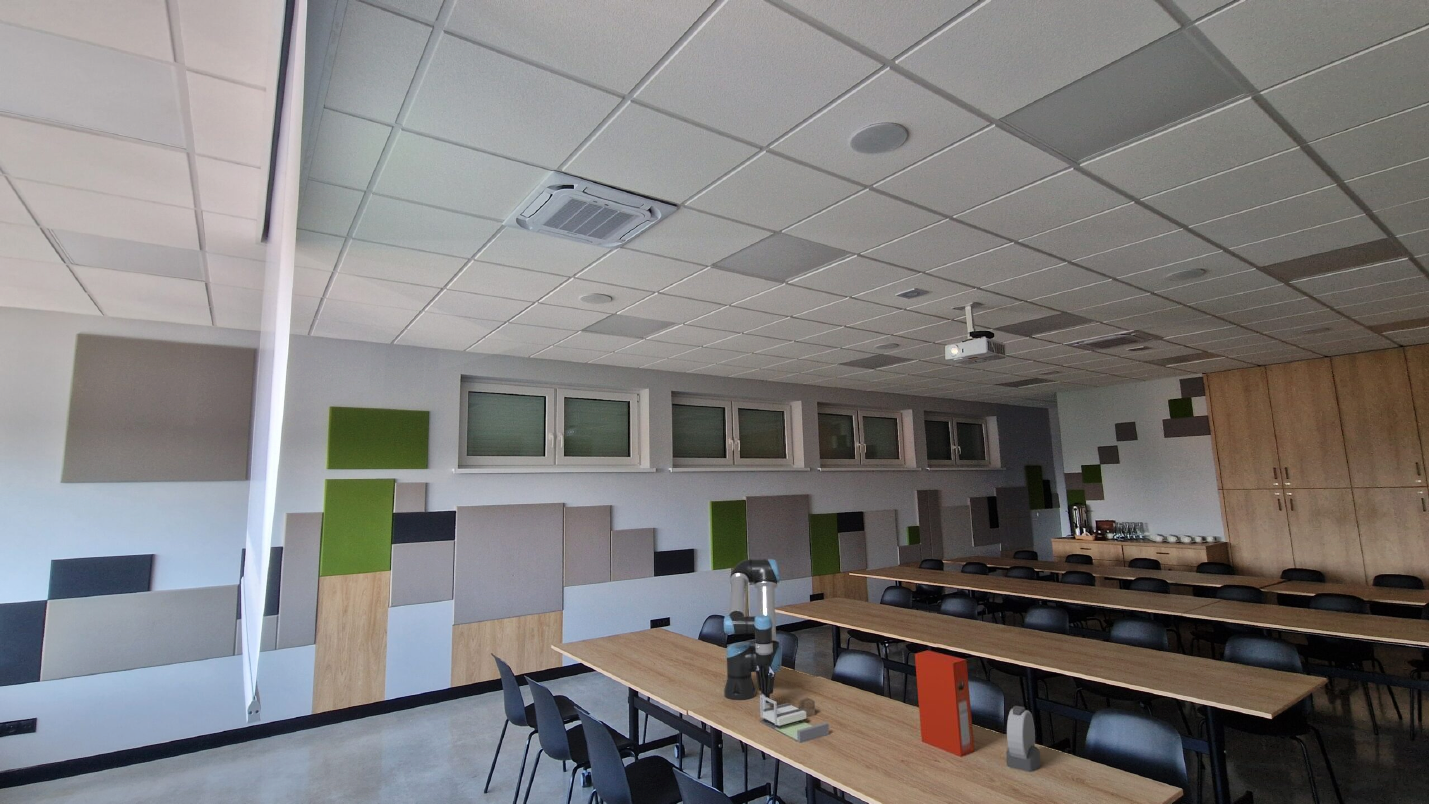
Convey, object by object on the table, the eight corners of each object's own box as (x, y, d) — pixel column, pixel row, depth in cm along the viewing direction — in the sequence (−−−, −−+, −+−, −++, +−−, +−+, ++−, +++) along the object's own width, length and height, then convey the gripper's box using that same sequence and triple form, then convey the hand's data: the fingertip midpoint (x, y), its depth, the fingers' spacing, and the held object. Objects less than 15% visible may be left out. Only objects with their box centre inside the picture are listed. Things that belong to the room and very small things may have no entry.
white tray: (759, 720, 261) (758, 694, 263) (787, 713, 269) (786, 687, 270) (777, 730, 250) (776, 702, 252) (806, 722, 258) (805, 695, 259)
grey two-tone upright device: (1014, 751, 226) (1009, 698, 228) (1045, 758, 219) (1040, 703, 222) (1001, 767, 213) (996, 710, 216) (1034, 775, 207) (1028, 716, 209)
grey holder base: (759, 721, 262) (758, 711, 263) (786, 714, 270) (786, 704, 270) (800, 742, 239) (799, 731, 239) (829, 734, 246) (828, 723, 247)
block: (798, 714, 269) (798, 699, 270) (807, 711, 272) (807, 697, 273) (806, 717, 265) (805, 702, 266) (815, 715, 268) (814, 700, 268)
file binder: (960, 757, 222) (952, 662, 227) (921, 741, 237) (914, 653, 241) (974, 751, 226) (966, 659, 231) (935, 736, 241) (928, 649, 245)
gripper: (748, 650, 277) (750, 707, 274) (765, 657, 266) (768, 715, 263) (762, 648, 281) (764, 703, 277) (779, 654, 270) (782, 712, 266)
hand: (766, 709), depth 270 cm, fingers closed
